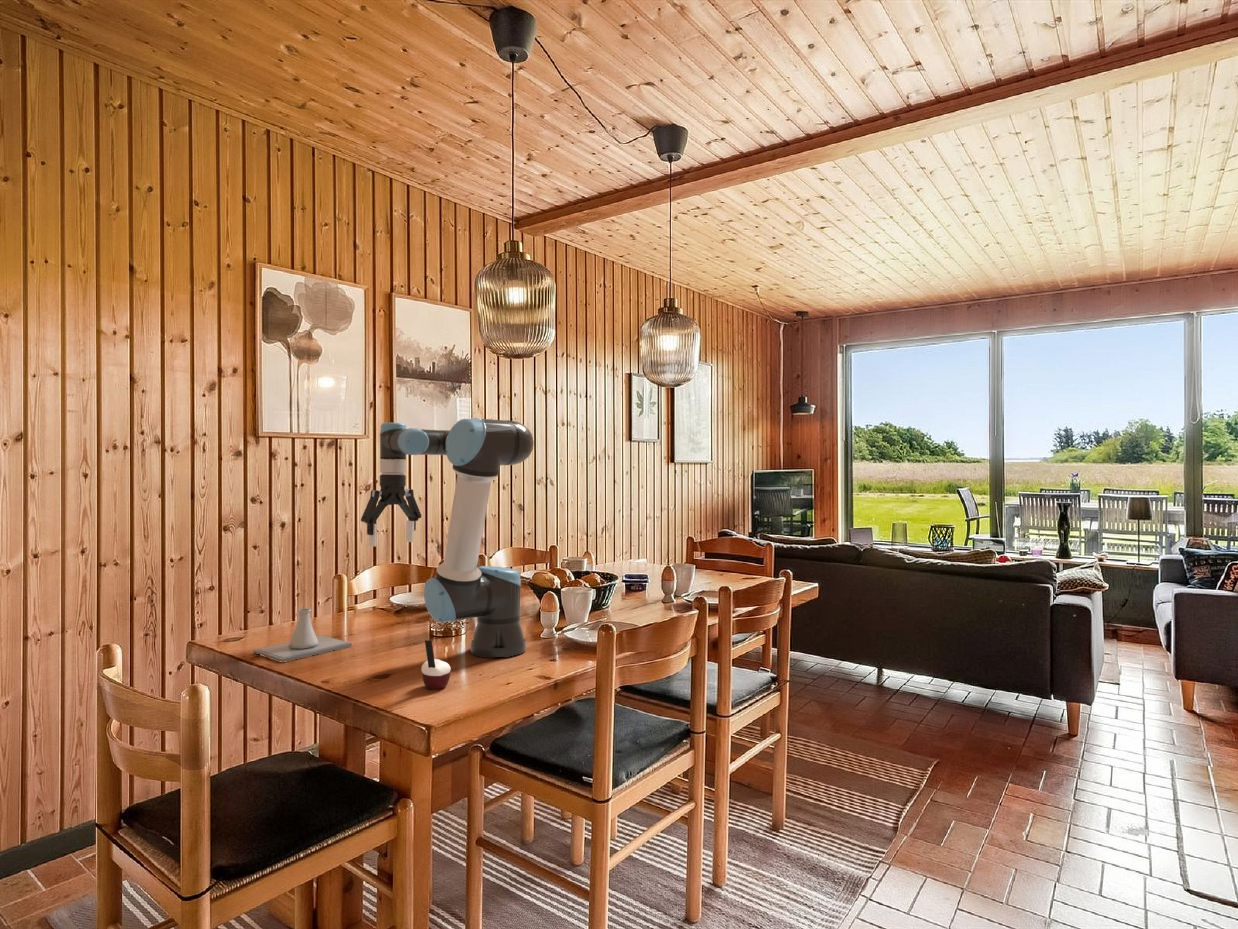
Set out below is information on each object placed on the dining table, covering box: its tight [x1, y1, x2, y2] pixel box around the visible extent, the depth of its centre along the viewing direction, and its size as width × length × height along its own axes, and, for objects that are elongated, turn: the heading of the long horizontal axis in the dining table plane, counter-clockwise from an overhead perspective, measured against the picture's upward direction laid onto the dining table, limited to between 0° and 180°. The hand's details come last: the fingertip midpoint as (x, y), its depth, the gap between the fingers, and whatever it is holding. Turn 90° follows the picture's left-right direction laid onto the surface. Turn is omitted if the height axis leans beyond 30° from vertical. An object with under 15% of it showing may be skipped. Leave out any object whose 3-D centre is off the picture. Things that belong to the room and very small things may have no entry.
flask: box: [289, 608, 319, 649], centre depth 192 cm, size 7×7×10 cm
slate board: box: [253, 634, 352, 662], centre depth 192 cm, size 14×20×1 cm
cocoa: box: [420, 639, 452, 690], centre depth 163 cm, size 10×6×12 cm, turn 149°
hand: (391, 544), depth 213 cm, fingers open, 13 cm apart
